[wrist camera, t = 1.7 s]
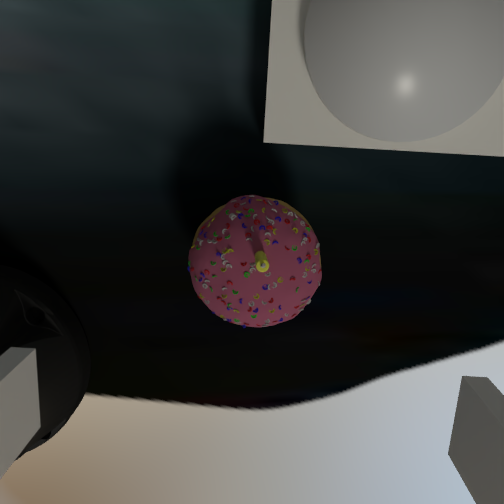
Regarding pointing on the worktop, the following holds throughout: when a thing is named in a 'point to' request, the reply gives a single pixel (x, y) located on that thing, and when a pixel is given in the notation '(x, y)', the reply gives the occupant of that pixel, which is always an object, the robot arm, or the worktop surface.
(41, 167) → the worktop surface
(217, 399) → the worktop surface
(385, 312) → the worktop surface
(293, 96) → the scale
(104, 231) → the worktop surface
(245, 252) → the cupcake
